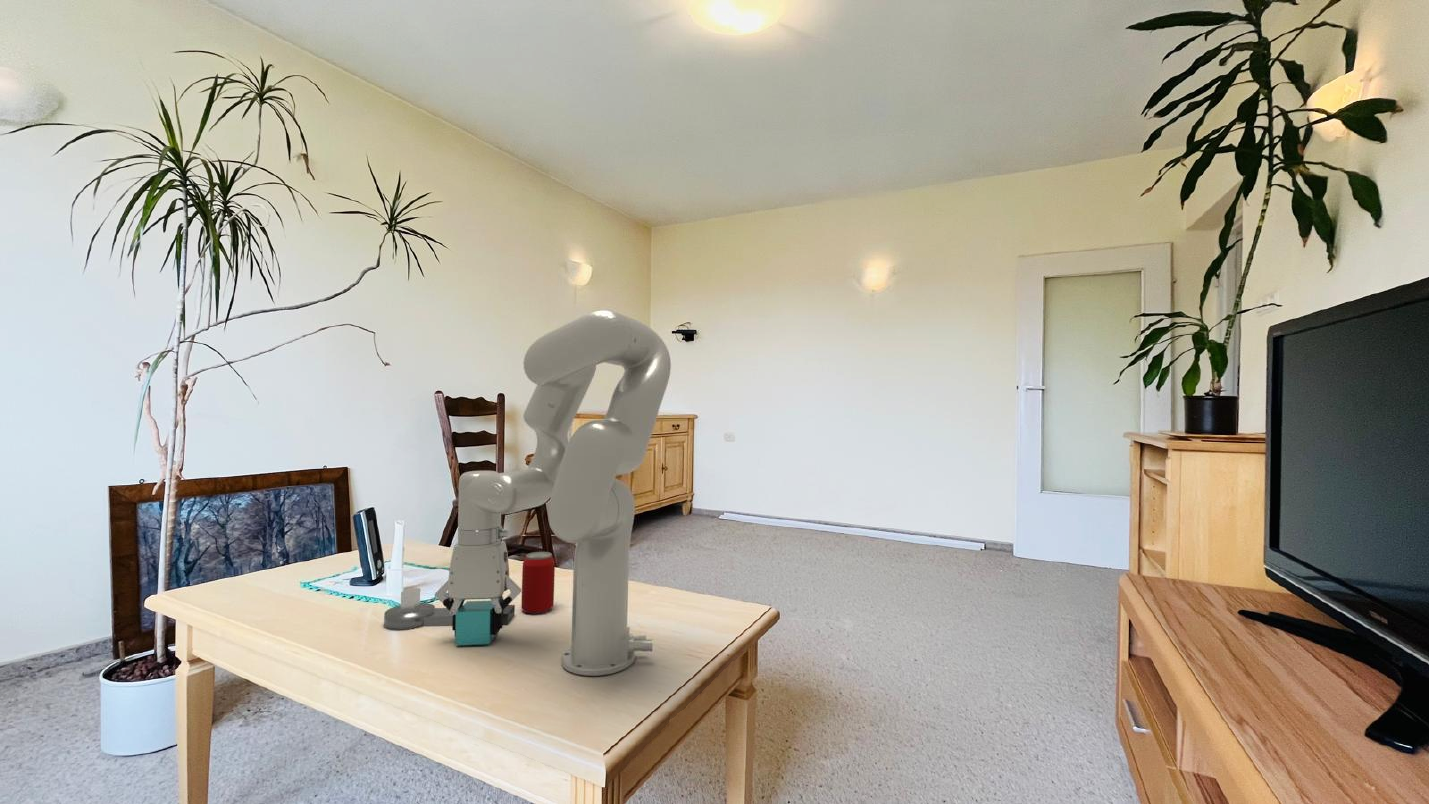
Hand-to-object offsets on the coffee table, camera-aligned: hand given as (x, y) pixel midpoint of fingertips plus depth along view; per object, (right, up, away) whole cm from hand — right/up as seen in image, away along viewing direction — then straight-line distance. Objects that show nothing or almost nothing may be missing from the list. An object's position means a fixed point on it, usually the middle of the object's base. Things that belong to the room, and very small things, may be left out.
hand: (477, 632), depth 103 cm
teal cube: (0, -1, 0) cm, 1 cm away
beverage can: (+6, -2, +17) cm, 18 cm away
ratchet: (-11, -2, +9) cm, 14 cm away
